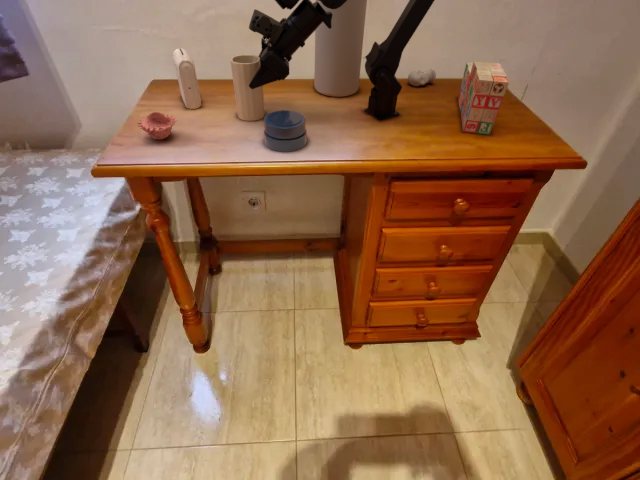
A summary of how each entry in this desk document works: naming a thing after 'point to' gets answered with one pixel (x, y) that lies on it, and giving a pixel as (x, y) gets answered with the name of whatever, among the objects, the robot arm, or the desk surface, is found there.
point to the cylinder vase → (340, 50)
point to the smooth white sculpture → (421, 77)
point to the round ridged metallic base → (285, 130)
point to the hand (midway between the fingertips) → (251, 80)
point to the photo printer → (187, 78)
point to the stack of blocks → (481, 96)
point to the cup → (247, 87)
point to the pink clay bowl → (157, 125)
